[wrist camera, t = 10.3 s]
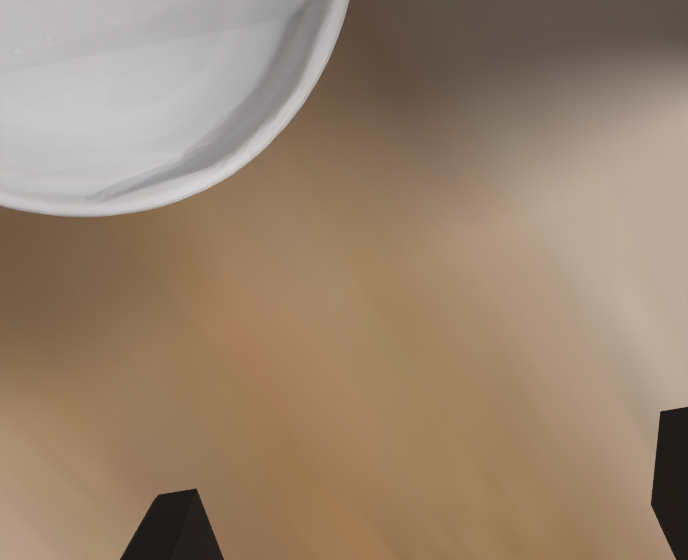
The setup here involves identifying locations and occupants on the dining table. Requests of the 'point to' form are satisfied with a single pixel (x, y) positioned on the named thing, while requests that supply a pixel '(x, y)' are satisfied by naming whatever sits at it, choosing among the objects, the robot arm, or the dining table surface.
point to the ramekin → (148, 95)
